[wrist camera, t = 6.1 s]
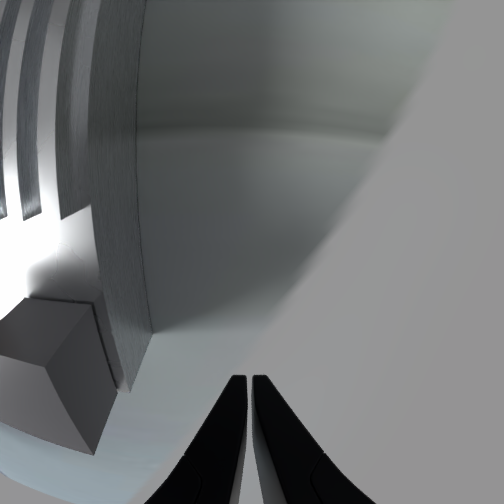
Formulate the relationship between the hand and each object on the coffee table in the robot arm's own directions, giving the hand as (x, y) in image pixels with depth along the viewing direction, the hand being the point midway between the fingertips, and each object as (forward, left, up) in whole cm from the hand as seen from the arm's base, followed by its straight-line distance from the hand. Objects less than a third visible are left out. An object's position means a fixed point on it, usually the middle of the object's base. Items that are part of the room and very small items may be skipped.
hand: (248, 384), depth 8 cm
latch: (0, -8, -1) cm, 8 cm away
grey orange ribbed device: (-8, -11, -5) cm, 15 cm away
